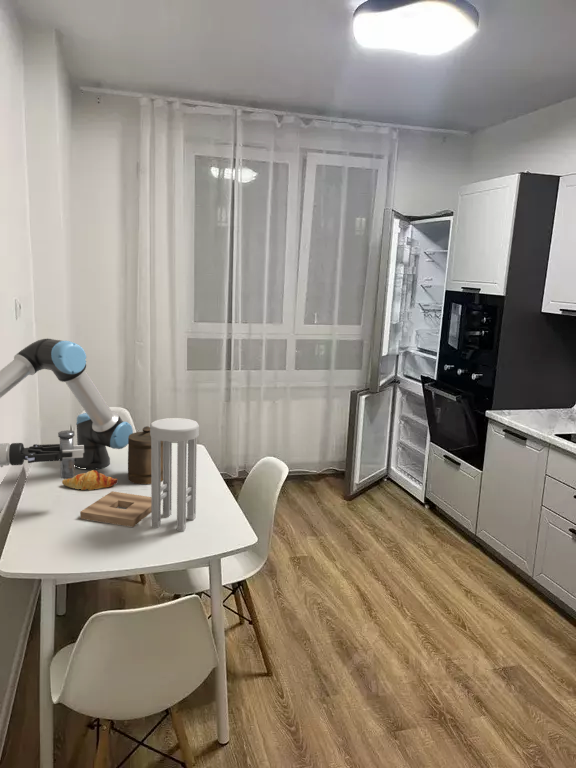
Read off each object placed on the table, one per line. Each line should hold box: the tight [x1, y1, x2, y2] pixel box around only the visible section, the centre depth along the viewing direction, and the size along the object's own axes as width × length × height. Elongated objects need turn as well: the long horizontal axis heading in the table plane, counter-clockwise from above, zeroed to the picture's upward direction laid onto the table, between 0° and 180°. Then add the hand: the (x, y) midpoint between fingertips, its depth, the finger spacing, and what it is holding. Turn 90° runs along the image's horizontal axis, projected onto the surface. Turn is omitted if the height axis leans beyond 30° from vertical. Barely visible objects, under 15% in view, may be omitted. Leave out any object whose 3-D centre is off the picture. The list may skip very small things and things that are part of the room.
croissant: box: [61, 469, 119, 491], centre depth 224 cm, size 21×10×8 cm, turn 96°
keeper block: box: [79, 491, 151, 528], centre depth 203 cm, size 20×20×2 cm
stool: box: [149, 417, 200, 532], centre depth 193 cm, size 16×16×35 cm
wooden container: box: [127, 425, 163, 485], centre depth 234 cm, size 15×15×22 cm
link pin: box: [57, 430, 76, 480], centre depth 198 cm, size 5×5×16 cm
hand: (83, 451), depth 200 cm, fingers closed on link pin, 4 cm apart
